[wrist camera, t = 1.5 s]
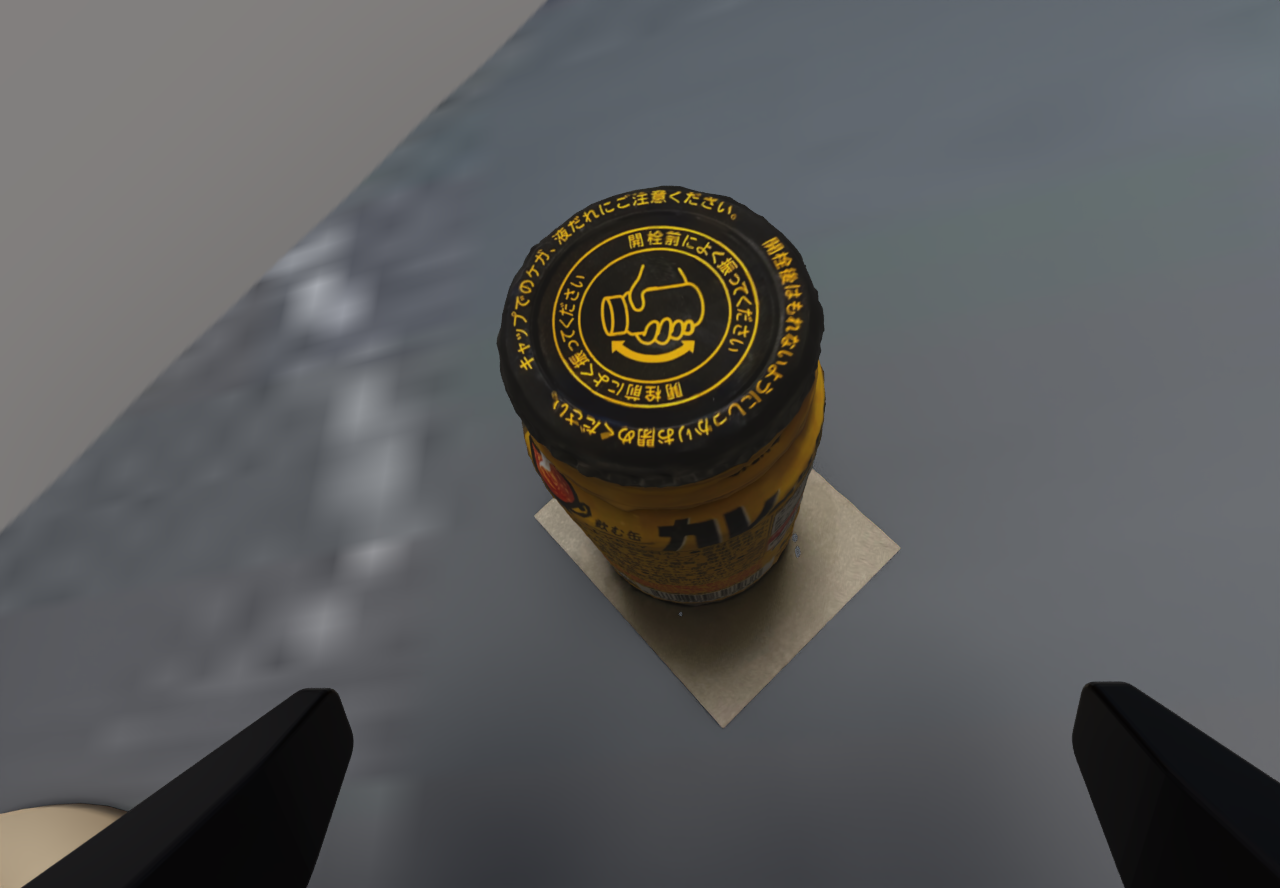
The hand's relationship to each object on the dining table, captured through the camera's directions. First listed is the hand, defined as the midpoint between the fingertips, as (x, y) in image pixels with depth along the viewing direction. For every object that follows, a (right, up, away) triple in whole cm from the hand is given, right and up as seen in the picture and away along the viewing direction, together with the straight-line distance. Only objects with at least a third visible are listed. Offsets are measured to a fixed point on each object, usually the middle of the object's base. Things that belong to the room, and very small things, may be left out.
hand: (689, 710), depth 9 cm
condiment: (+2, 0, +13) cm, 14 cm away
